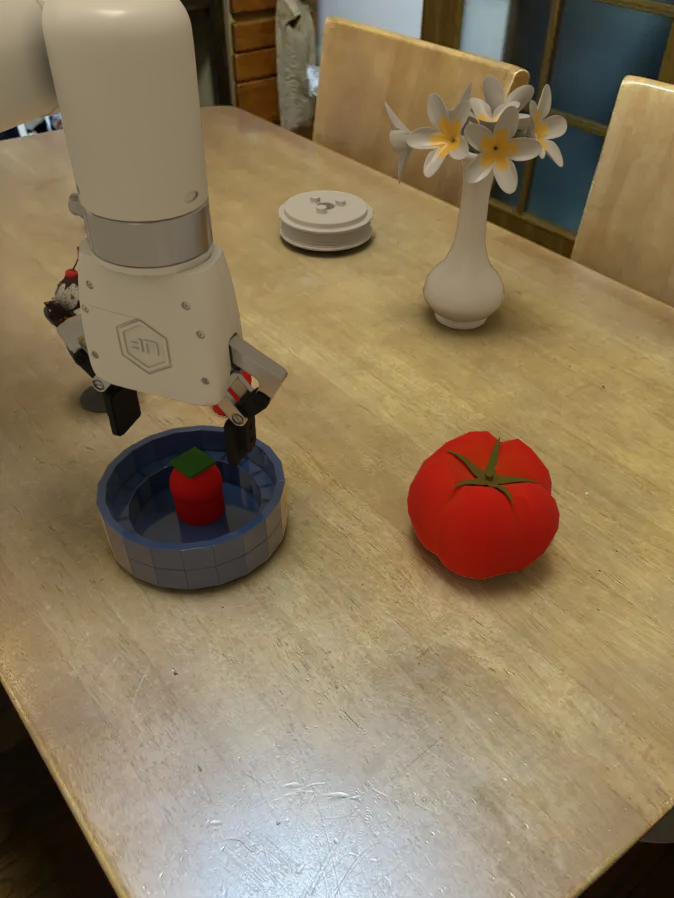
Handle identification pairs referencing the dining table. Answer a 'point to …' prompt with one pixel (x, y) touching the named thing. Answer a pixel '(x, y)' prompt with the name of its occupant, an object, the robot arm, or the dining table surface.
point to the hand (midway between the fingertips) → (183, 439)
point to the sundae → (63, 309)
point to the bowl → (182, 545)
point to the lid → (325, 220)
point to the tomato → (483, 505)
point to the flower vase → (476, 184)
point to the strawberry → (197, 488)
